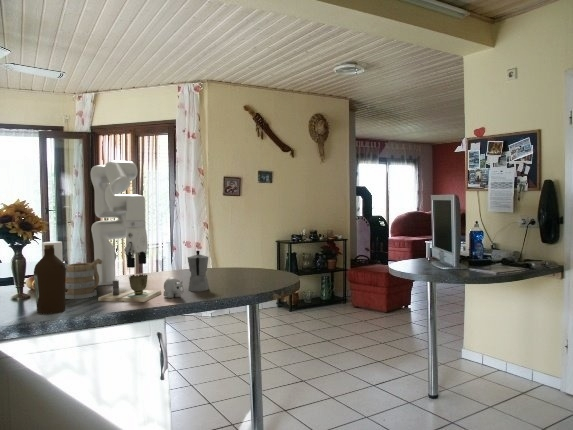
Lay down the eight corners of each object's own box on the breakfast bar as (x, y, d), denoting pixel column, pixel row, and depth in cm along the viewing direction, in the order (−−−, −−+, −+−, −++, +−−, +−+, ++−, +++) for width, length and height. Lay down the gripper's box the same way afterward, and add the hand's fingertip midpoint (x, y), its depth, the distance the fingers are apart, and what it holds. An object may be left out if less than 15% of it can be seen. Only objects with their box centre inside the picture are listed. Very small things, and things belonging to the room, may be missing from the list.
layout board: (98, 301, 183) (97, 282, 183) (119, 293, 199) (118, 276, 199) (143, 301, 180) (143, 283, 180) (161, 293, 196) (160, 276, 196)
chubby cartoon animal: (173, 301, 179) (173, 280, 179) (161, 297, 189) (160, 277, 188) (189, 299, 184) (189, 278, 184) (176, 294, 193) (176, 275, 193)
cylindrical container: (48, 302, 182) (46, 241, 181) (66, 302, 183) (64, 241, 182) (40, 306, 175) (38, 243, 174) (59, 306, 176) (57, 242, 175)
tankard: (80, 300, 186) (79, 264, 185) (57, 298, 190) (56, 263, 190) (114, 291, 204) (113, 258, 204) (92, 289, 209) (91, 257, 208)
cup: (134, 292, 191) (133, 273, 190) (150, 292, 190) (150, 273, 190) (126, 296, 183) (125, 276, 183) (143, 296, 183) (143, 276, 182)
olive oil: (67, 306, 174) (65, 243, 173) (66, 312, 164) (64, 245, 163) (36, 310, 169) (34, 244, 169) (33, 316, 160) (31, 247, 159)
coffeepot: (188, 287, 209) (188, 249, 209) (209, 286, 211) (208, 248, 210) (187, 294, 194) (186, 253, 194) (209, 292, 196) (208, 252, 195)
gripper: (134, 226, 176) (135, 269, 177) (154, 223, 193) (154, 262, 194) (116, 226, 177) (117, 268, 178) (137, 223, 194) (138, 262, 195)
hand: (136, 265), depth 186 cm, fingers open, 9 cm apart
